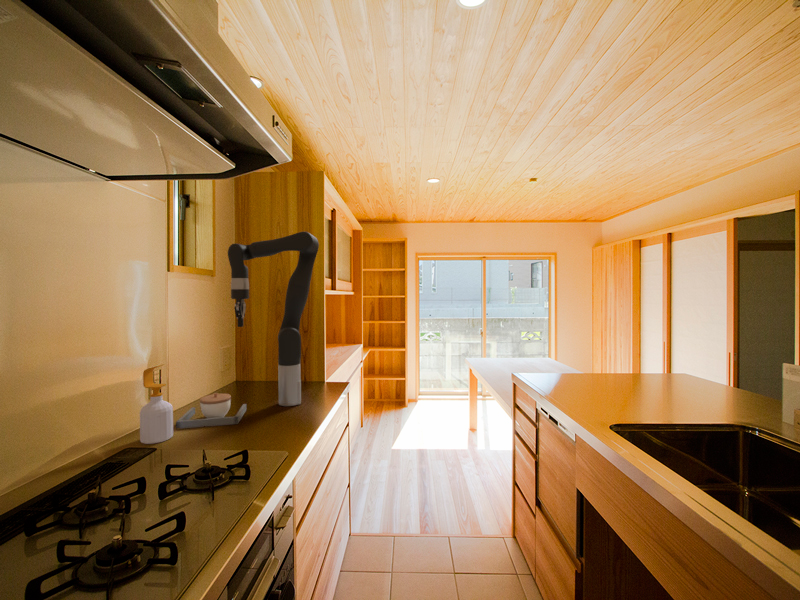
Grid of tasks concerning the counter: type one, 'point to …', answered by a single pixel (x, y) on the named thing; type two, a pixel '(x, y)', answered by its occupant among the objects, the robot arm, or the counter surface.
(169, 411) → the soap bottle
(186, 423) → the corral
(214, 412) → the lidded jar
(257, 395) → the counter surface
